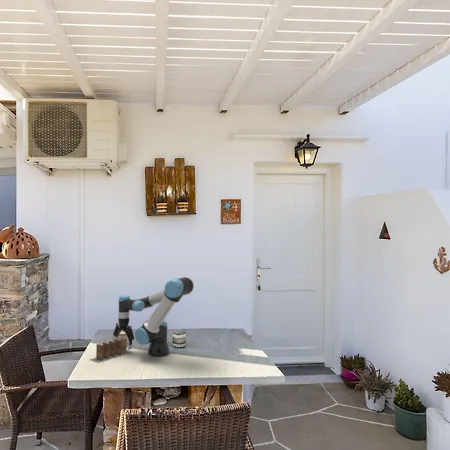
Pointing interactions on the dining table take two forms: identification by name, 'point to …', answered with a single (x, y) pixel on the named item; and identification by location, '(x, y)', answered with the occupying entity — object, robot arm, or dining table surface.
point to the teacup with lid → (122, 336)
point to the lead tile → (123, 345)
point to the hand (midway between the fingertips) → (123, 347)
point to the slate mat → (109, 357)
